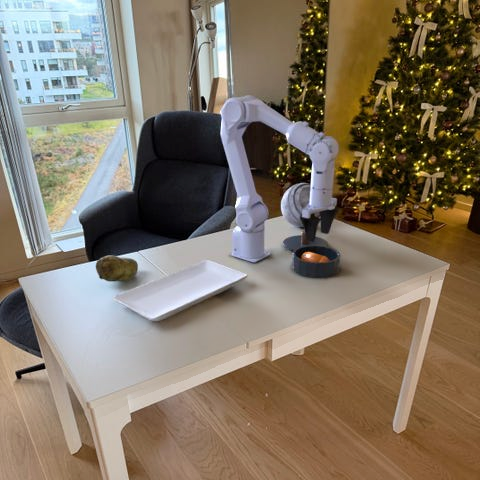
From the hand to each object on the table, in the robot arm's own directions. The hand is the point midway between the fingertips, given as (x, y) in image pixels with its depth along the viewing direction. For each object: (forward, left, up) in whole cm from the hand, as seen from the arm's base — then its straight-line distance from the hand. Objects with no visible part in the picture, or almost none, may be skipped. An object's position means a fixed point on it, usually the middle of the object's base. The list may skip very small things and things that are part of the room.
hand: (317, 236), depth 123 cm
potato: (-38, -40, -10) cm, 56 cm away
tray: (-17, -36, -10) cm, 41 cm away
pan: (0, 0, -10) cm, 10 cm away
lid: (-12, +13, -9) cm, 20 cm away
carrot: (0, 0, -9) cm, 9 cm away
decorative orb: (-24, +29, -10) cm, 39 cm away
